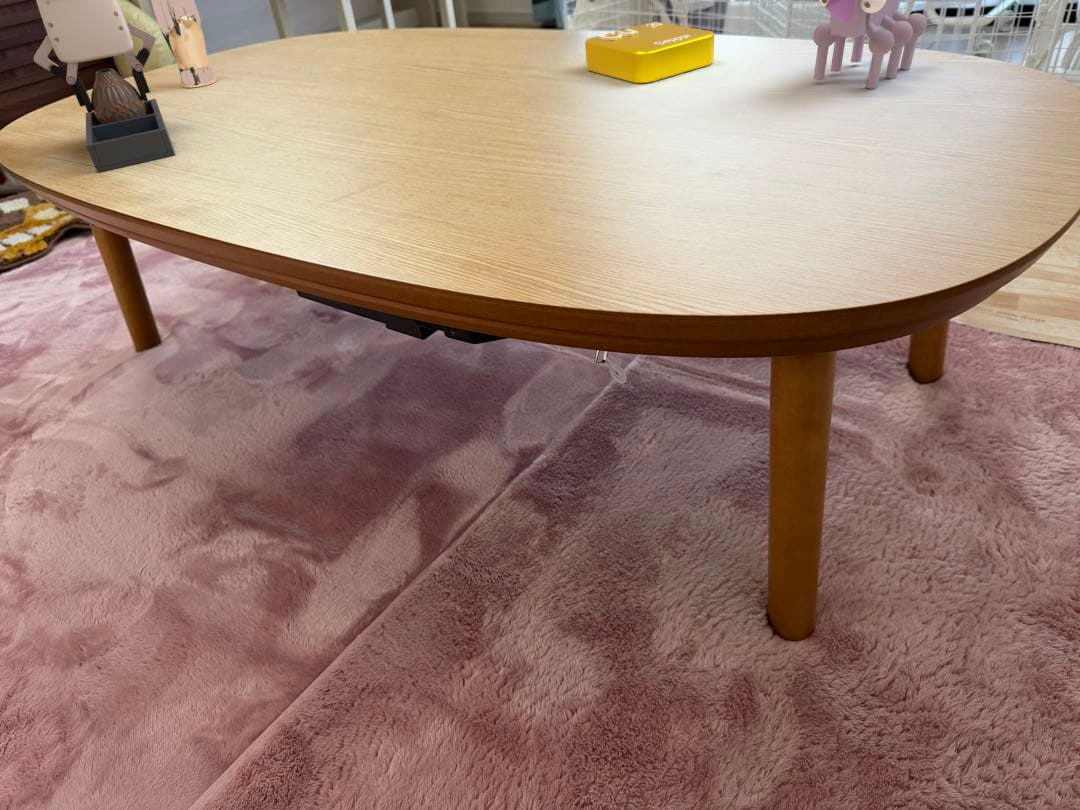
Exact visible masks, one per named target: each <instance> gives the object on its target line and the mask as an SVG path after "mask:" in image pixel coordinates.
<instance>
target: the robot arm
mask: <svg viewBox="0 0 1080 810" xmlns="http://www.w3.org/2000/svg"><path fill="white" fill-rule="evenodd" d="M35 1H36V5H37V7H38V10H39V13H40V17H41V19H42V22H43V25H44V28H45V31H46V33H47V35H46V36H45V38H44V39H43V41H42V43H41V44H40V46H39V47H38V49H37V50H36V52H35V54H34V56H33V62H34V63H35V64H37V65H38V66H40V67H42V68H43V69H45V70H46V71H48V72H50V73H51V74H52V75H54V76H56V77H57V78H59V79H62V80H63V81H65V82H67V83H68V84H69V85H71V88H72V90H73V92H74V95H75V97H76V99H77V102H78V104H79V106H80V107H85V109H86V111H87V113H89V112H93V108H92V103H91V97H90V96H89V94H88V90H87V89H86V87H85V84H84V81H83V80H81V79H80V77H79V75H78V65H79V63H84V62H85V63H86V62H90V61H96V60H100V59H106V58H111V57H116V56H121V57H122V58H123V59H124V60H125V61H126V62H127V64H129V65H130V66H131V74H132V77H133V79H134V82H135V85H136V87H137V91H138V93H139V94H140V96H141V98H142V101H148V100H149V99H148V96H147V94H151V90H150V88H149V84H148V82H147V79H146V77H145V74H144V71H143V70H144V67H145V65H146V63H147V61H148V59H149V58H150V55H151V52H152V50H153V48H154V46H155V43H156V41H157V39H156V37H155V35H154V34H153V33H151V32H149V31H147V30H145V29H143V28H141V27H140V26H137V24H134V23H132V22H130V21H129V20H126V17H125V14H124V12H123V10H122V7H121V5H120V3H119V0H35ZM132 35H133V36H134V37H136V38H139V39H140V40H142V43H141V47H140V49H139V51H138V52H137V54H136V55H135V54H134V52H133V51H132V50H133V49H134V40H133V39H134V38H133V36H132ZM52 50H53V51H54V54H55V55H56V57H57V58H58V60H59V61H60V62H62V63H65V64H67V66H66V68H65V67H63V66H61V65H59V64H57V63H55V61H52V60H51V59H50V58H49V55H50V54H51V52H52Z"/></svg>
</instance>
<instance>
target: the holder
mask: <svg viewBox="0 0 1080 810" xmlns="http://www.w3.org/2000/svg"><path fill="white" fill-rule="evenodd" d="M143 102H144V105H145V108H146V113H147V115H144V116H140V117H135V118H130V119H125V120H121V121H116V122H111V123H106V124H102V125H101V124H100V123H99V121H98V120H97V118H96V116H95V114H94V111H92V112H89V113H88V112H85V143H86V144H85V147H86V149H87V152H88V154H89V156H90V158H91V160H92V163H93V165H94V168H95V170H96V172H97V173H101V172H107V171H111V170H115V169H119V168H124V167H128V166H132V165H137V164H141V163H146V162H150V161H155V160H160V159H163V158H167V157H173V156H175V155H176V153H175V150H174V148H173V144H172V141H171V138H170V135H169V132H168V129H167V126H166V124H165V121H164V117H163V115H162V113H161V110H160V107H159V104H158V102H157V99H156V98H152V99H148V101H144V100H143Z"/></svg>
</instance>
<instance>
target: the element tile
mask: <svg viewBox="0 0 1080 810" xmlns="http://www.w3.org/2000/svg"><path fill="white" fill-rule="evenodd" d="M584 45H585V48H584V49H585V63H586V64H585V65H586V68H587V70H588V71H590V72H592V73H597V74H600V75H604V76H608V77H611V78H615V79H619V80H623V81H626V82H630V83H633V84H649V83H653V82H656V81H660V80H664V79H667V78H670V77H673V76H677V75H680V74H684V73H687V72H690V71H694V70H697V69H700V68H704V67H708V66H709V65H712V64H713V63H714V58H715V57H714V56H715V33H714V32H713V31H711V30H706V29H700V28H694V27H688V26H683V25H677V24H672V23H665V22H661V21H652V22H648V23H643V24H639V25H636V26H633V27H628V28H624V29H619V30H616V31H609V32H604V33H601V34H599V35H597V36H593V37H590V38H587V39H586V40H585V42H584Z"/></svg>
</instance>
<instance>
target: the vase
mask: <svg viewBox="0 0 1080 810" xmlns="http://www.w3.org/2000/svg"><path fill="white" fill-rule="evenodd" d="M90 94H91V95H90V101H91V103H92V108H93V111H94V114H95V116H96V118H97V120H98V121H99V123H100V124H101V125H102V124H106V123H111V122H116V121H121V120H125V119H130V118H135V117H140V116H144V115H147V113H146V108H145V105H144V102H143V101H144V100H143V101H142V98H141V95H140V93H139V90H138V89H137V88H136V87H135V86H134V85H132V84H131V83H130V82H129V81H127V80H126V79H125V78H123V77H122V76H120V74H119V73H118V72H117V71H116V70H115V69H114V68H104V69H100V70H97V71H96V72H95V80H94V84H93V87H92V90H91V93H90ZM93 111H92V112H93Z"/></svg>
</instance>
